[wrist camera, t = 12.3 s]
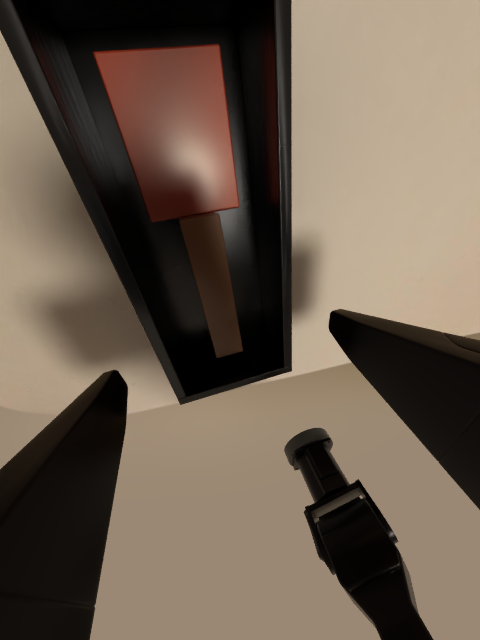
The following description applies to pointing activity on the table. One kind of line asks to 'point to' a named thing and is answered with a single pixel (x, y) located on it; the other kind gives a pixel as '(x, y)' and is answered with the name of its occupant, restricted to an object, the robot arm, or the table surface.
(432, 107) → the table surface
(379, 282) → the table surface
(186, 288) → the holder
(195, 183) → the red pad with bar
